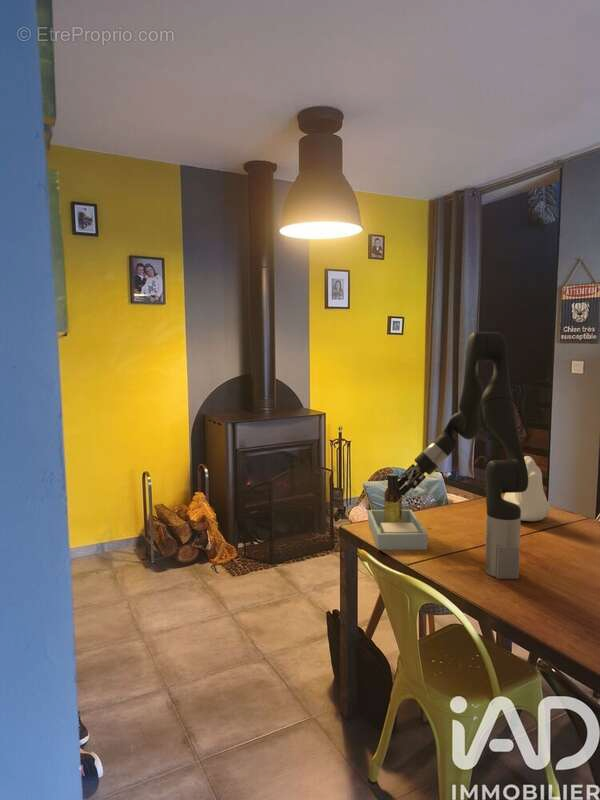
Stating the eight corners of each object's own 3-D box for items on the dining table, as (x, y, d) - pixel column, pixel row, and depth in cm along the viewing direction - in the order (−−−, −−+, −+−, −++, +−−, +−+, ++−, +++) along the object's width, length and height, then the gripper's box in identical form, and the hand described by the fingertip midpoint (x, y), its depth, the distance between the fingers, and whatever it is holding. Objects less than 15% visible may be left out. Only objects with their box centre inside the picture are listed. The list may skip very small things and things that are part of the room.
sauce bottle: (403, 532, 187) (403, 476, 186) (385, 532, 188) (385, 476, 186) (400, 526, 194) (400, 472, 192) (383, 526, 194) (383, 472, 193)
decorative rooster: (553, 528, 194) (556, 460, 191) (507, 525, 197) (509, 459, 195) (539, 507, 218) (541, 447, 216) (498, 505, 222) (500, 446, 219)
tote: (427, 552, 172) (427, 534, 172) (377, 552, 172) (377, 534, 172) (411, 525, 198) (411, 509, 197) (368, 525, 198) (368, 510, 198)
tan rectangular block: (418, 546, 175) (418, 531, 174) (384, 546, 175) (384, 531, 174) (412, 536, 183) (412, 522, 183) (380, 536, 184) (380, 522, 183)
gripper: (419, 447, 195) (387, 478, 196) (428, 455, 181) (394, 488, 182) (433, 461, 196) (401, 492, 197) (443, 470, 181) (409, 503, 183)
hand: (398, 490), depth 189 cm, fingers open, 8 cm apart
